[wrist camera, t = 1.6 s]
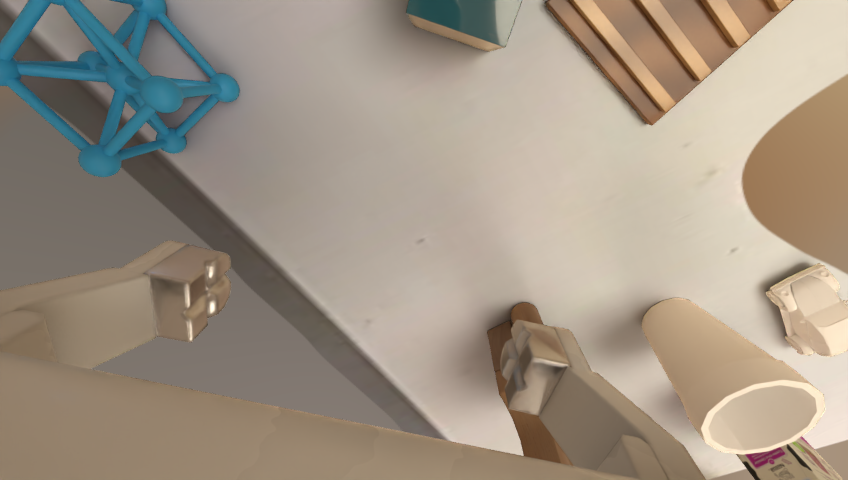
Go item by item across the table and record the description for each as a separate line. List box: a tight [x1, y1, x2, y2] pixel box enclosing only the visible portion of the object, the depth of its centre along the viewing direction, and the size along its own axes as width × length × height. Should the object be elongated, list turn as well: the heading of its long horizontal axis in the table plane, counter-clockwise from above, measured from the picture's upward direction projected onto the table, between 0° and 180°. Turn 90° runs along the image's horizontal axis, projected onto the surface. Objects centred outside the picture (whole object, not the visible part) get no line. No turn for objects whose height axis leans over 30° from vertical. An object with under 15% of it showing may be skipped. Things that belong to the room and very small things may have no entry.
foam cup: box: [641, 298, 825, 455], centre depth 35 cm, size 10×9×13 cm
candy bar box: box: [736, 436, 843, 480], centre depth 39 cm, size 11×5×16 cm, turn 56°
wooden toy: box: [487, 303, 574, 466], centre depth 33 cm, size 16×7×25 cm, turn 34°
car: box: [766, 263, 848, 357], centre depth 38 cm, size 12×6×5 cm, turn 40°
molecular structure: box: [0, 0, 240, 177], centre depth 27 cm, size 10×10×10 cm
